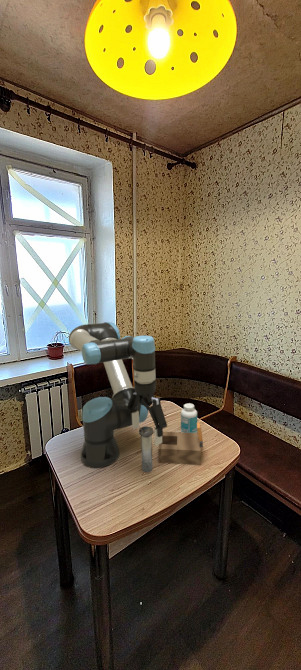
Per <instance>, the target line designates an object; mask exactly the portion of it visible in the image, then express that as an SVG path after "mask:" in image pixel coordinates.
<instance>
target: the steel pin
mask: <svg viewBox="0 0 301 670" xmlns="http://www.w3.org/2000/svg"><path fill="white" fill-rule="evenodd" d="M138 434H139V436H140V451H141V454H140V455H141V471H142V472H143V473H151V472H152V471H153V468H154V467H153V438H152V437H153V435H154V427H151V426H141V427H139V429H138Z"/></svg>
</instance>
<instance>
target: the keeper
mask: <svg viewBox="0 0 301 670" xmlns="http://www.w3.org/2000/svg"><path fill="white" fill-rule="evenodd" d="M197 433H198V435H199V440H200V441H203V442H204V440H203V432H202V427H201V422H200V421H199V422H198V421H197Z"/></svg>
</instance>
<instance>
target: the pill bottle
mask: <svg viewBox="0 0 301 670" xmlns="http://www.w3.org/2000/svg"><path fill="white" fill-rule="evenodd" d="M197 423H198V410H196V408H195V405H194V404H193V403H190V402H189V403H185V404H183V408H182V409H181V411H180V432H183V433H198V429H197Z"/></svg>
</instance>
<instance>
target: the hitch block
mask: <svg viewBox="0 0 301 670" xmlns="http://www.w3.org/2000/svg"><path fill="white" fill-rule="evenodd" d="M203 447H204V440H203V441H200V440H199V435H198V432H197V433H183V432H181V431H180V432H178V431H177V432H176V431H163V436H162V443H161V444H159V445H158V463H163V464H177V465H179V464H181V465H193V466H194V465H195V466H197V465H198V466H201V465H202V464H201V463H202V461H201V458H202V454H201V453H202V450H201V449H202V448H203Z"/></svg>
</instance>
